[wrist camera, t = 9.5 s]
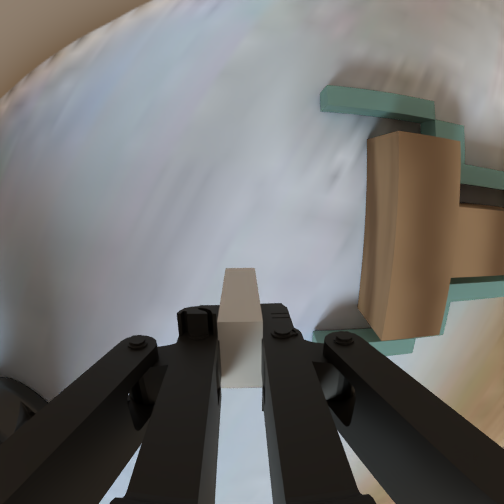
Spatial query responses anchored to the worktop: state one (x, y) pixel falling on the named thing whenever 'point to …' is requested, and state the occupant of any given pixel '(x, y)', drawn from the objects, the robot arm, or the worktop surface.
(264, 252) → the worktop surface
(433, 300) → the t block
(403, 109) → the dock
